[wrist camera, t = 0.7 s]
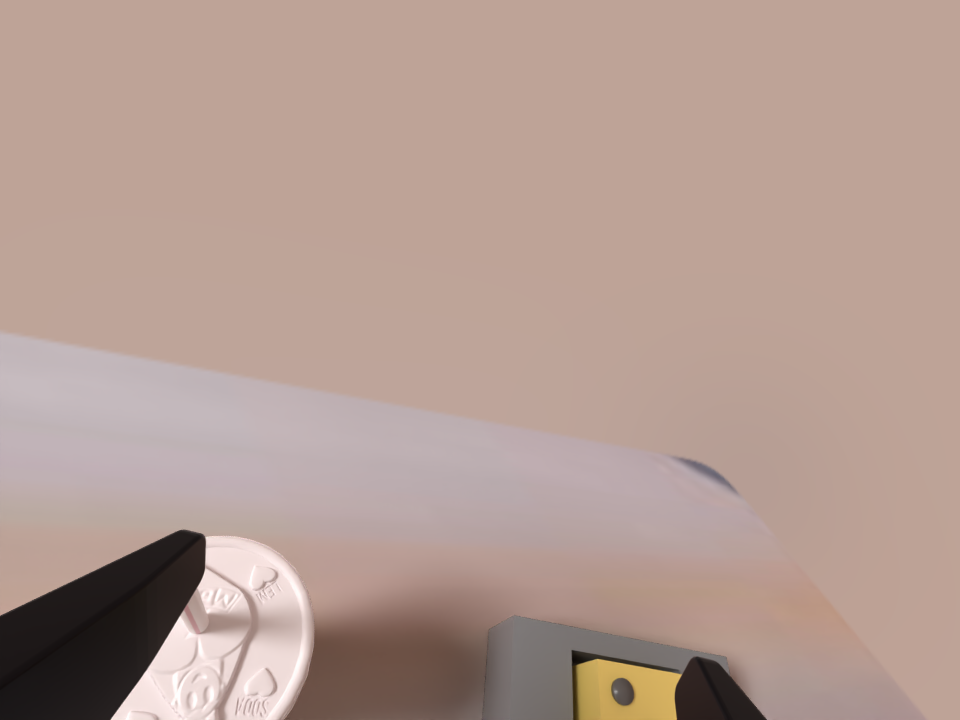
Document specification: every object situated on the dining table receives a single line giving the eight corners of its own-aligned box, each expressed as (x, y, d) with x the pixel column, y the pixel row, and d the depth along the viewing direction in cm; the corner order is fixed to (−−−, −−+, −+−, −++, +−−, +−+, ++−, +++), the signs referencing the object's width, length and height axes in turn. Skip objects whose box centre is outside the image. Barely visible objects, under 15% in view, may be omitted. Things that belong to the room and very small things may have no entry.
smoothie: (289, 585, 24) (310, 457, 14) (309, 739, 21) (356, 721, 11) (131, 628, 21) (11, 505, 11) (127, 815, 18) (-48, 888, 8)
